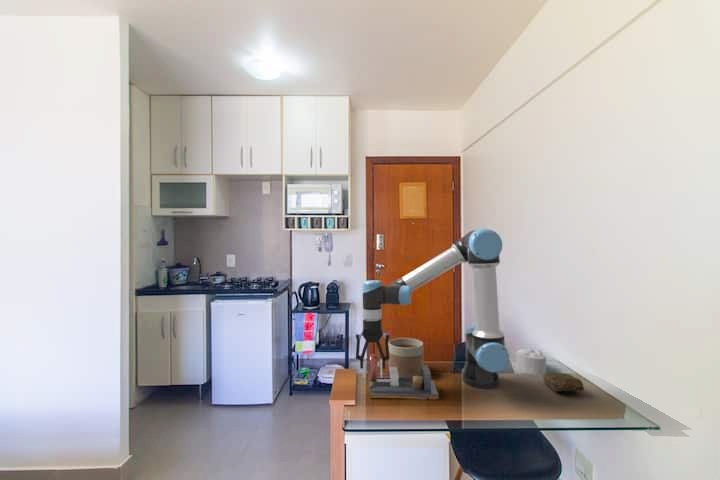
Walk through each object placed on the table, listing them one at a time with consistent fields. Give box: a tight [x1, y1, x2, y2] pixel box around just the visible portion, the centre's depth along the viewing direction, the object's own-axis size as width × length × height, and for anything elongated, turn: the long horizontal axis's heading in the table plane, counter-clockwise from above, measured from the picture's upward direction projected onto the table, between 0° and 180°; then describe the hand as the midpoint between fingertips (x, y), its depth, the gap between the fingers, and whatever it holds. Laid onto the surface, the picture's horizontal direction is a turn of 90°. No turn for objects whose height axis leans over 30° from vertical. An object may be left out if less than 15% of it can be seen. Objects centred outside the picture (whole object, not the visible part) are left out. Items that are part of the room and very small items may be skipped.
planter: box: [388, 337, 424, 379], centre depth 153 cm, size 16×16×14 cm
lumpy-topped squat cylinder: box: [516, 348, 547, 376], centre depth 155 cm, size 10×13×9 cm
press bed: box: [369, 364, 440, 399], centre depth 133 cm, size 26×13×9 cm, turn 87°
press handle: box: [368, 353, 399, 388], centre depth 133 cm, size 12×8×12 cm
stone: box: [542, 371, 585, 392], centre depth 133 cm, size 10×14×6 cm
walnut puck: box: [412, 376, 423, 389], centre depth 132 cm, size 4×4×4 cm
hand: (372, 376), depth 133 cm, fingers open, 6 cm apart
